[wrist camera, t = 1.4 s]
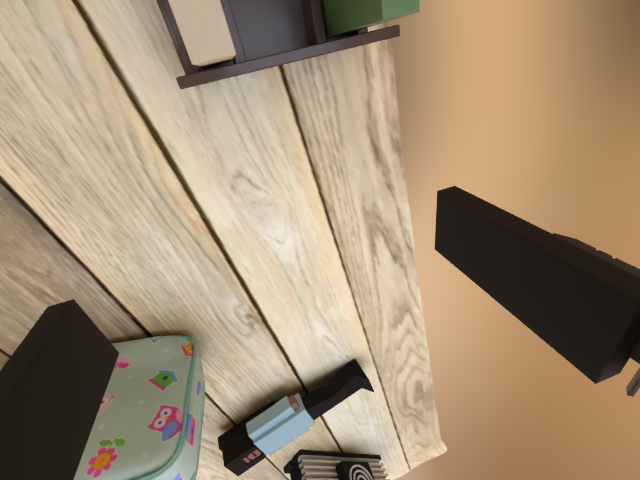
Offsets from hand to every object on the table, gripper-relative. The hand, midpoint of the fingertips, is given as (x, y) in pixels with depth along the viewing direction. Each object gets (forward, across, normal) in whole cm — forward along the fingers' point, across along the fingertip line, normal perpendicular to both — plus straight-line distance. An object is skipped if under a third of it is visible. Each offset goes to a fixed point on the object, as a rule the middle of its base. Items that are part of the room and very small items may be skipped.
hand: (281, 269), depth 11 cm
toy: (+27, -6, -51) cm, 58 cm away
